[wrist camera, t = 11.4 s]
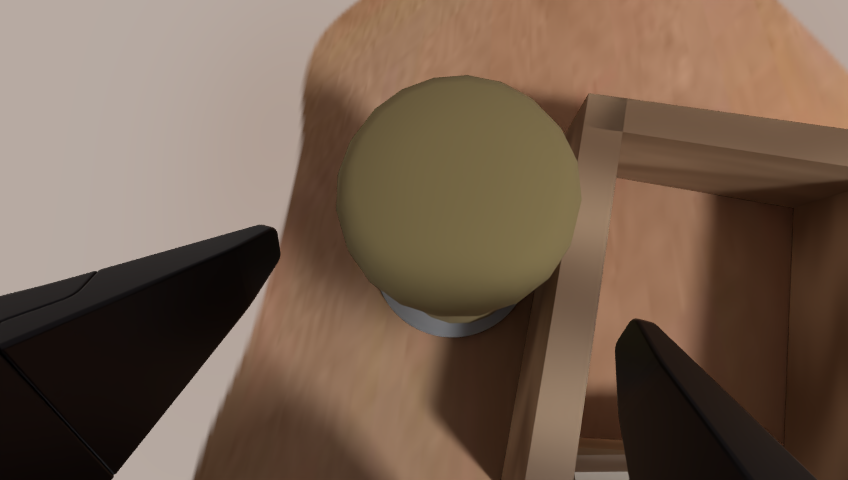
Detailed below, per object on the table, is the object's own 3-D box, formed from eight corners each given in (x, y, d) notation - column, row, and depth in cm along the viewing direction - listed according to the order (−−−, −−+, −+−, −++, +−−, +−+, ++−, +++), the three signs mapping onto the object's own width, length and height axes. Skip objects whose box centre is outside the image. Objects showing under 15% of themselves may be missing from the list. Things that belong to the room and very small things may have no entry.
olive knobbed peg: (526, 207, 17) (641, 26, 6) (515, 333, 16) (631, 377, 5) (406, 195, 18) (324, 14, 7) (387, 313, 17) (253, 316, 6)
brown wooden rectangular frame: (822, 590, 13) (975, 706, 9) (499, 488, 15) (513, 550, 11) (830, 184, 16) (947, 143, 12) (561, 140, 18) (589, 93, 14)
